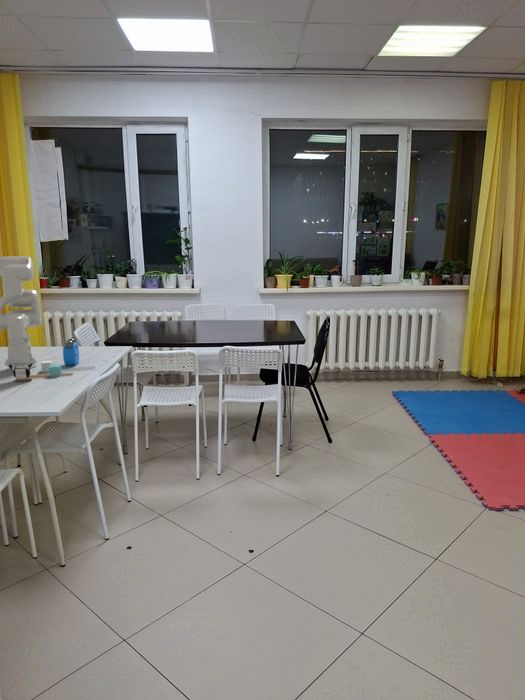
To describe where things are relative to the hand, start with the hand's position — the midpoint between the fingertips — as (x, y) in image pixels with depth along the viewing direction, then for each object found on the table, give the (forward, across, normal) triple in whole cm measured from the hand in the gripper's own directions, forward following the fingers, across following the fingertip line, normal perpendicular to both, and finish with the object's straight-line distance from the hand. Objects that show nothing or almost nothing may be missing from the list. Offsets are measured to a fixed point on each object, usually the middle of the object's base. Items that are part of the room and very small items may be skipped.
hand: (22, 376), depth 232 cm
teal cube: (+1, -16, 0) cm, 16 cm away
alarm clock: (+2, -20, -22) cm, 31 cm away
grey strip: (+2, -20, -10) cm, 23 cm away
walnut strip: (+2, -10, 0) cm, 11 cm away
